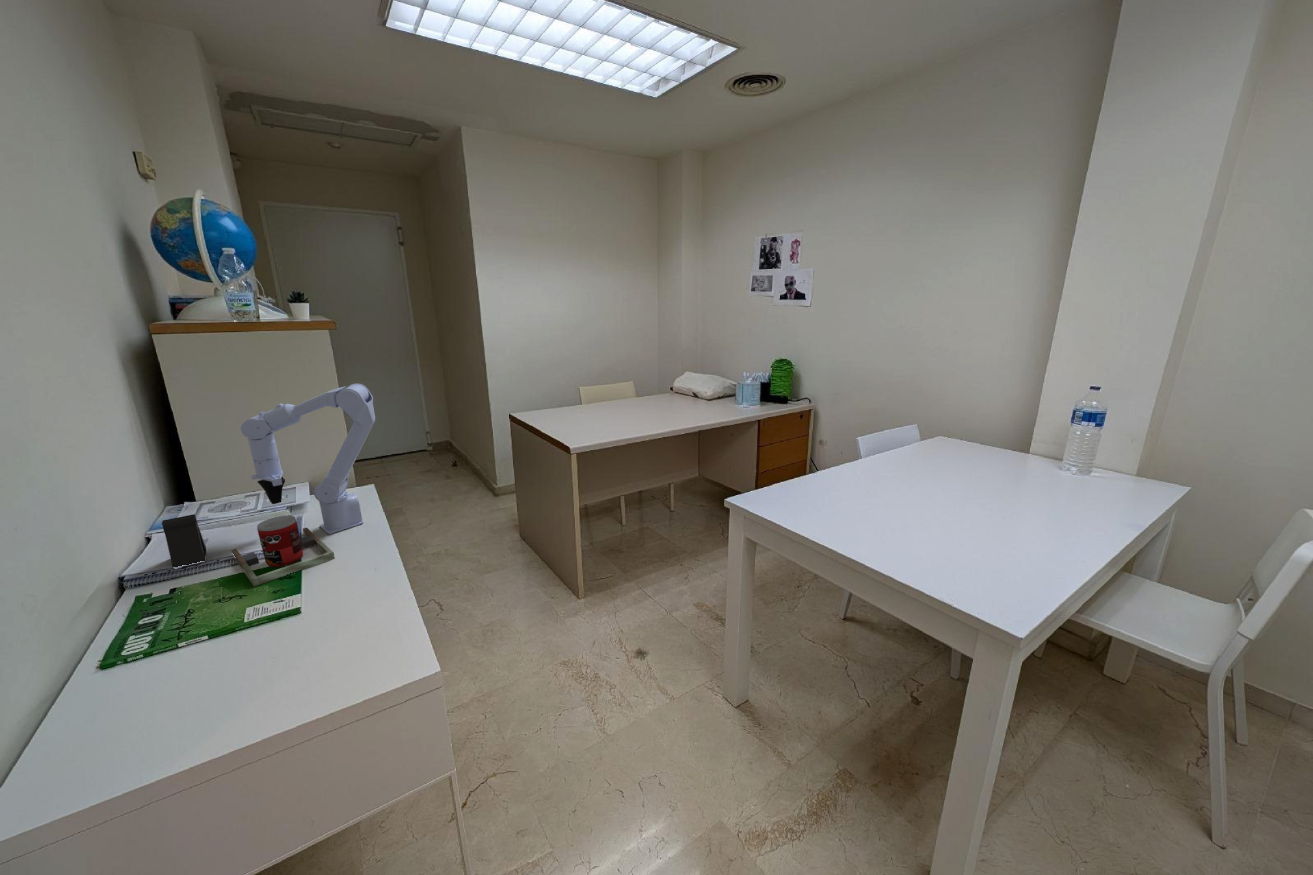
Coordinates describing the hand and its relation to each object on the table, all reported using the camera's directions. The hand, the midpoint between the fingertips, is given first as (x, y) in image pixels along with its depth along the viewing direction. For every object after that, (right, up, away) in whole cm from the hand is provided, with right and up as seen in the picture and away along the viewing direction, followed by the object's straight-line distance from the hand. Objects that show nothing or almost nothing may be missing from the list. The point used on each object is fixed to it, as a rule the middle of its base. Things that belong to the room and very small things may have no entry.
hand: (276, 502), depth 138 cm
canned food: (+12, -14, -12) cm, 22 cm away
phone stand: (-13, -13, -12) cm, 22 cm away
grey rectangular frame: (+11, -13, -11) cm, 20 cm away
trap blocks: (+8, -12, -9) cm, 17 cm away
